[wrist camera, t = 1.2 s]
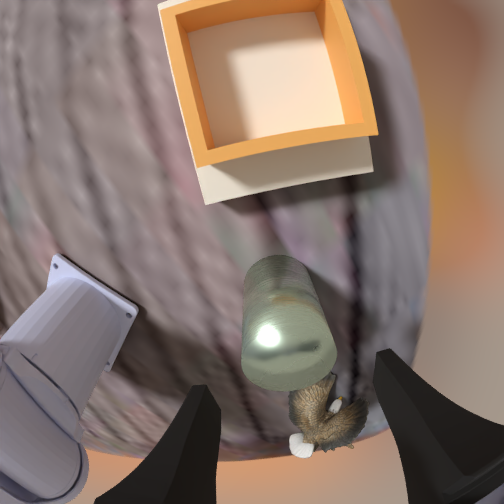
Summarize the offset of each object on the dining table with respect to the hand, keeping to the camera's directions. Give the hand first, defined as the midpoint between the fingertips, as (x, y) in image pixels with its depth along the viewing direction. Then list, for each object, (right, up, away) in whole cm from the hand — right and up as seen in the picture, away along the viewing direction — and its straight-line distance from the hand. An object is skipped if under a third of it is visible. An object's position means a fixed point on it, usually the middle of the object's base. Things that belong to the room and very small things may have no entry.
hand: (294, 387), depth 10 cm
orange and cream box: (-1, +15, +3) cm, 15 cm away
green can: (0, +3, +8) cm, 9 cm away
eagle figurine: (+5, -9, +13) cm, 17 cm away
